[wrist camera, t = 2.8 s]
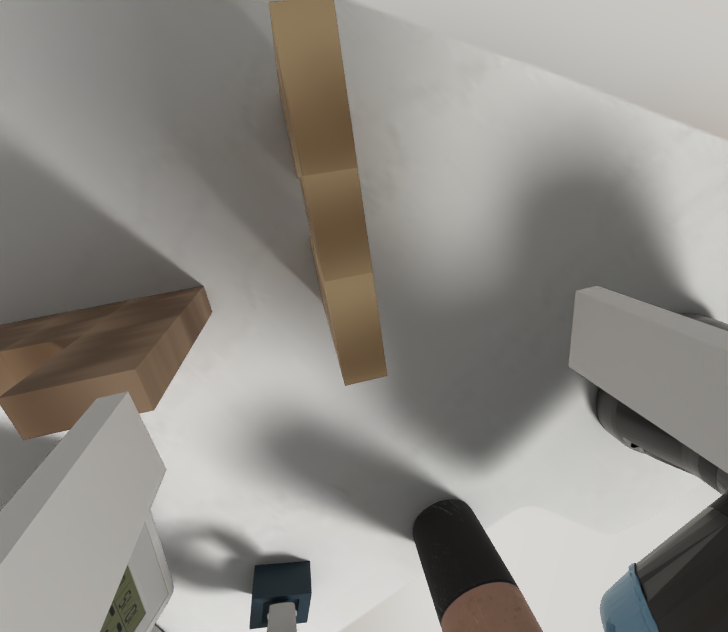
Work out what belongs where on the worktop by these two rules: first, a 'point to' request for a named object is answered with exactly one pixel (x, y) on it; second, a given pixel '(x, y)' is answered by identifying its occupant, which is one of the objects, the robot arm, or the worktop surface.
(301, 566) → the watch
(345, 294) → the notched board
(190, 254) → the worktop surface
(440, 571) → the travel mug
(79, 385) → the notched stand
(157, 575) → the digital clock
